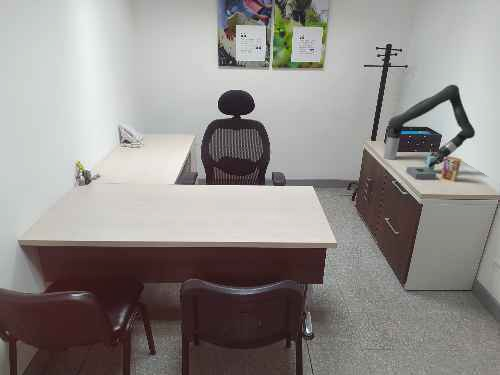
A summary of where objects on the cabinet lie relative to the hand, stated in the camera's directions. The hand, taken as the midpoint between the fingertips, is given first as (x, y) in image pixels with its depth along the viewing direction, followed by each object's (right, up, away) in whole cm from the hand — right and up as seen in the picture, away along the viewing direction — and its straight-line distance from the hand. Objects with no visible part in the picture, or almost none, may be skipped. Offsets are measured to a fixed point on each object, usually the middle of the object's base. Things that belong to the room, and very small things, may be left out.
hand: (427, 165), depth 261 cm
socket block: (-9, -8, -7) cm, 14 cm away
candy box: (+9, -11, -11) cm, 18 cm away
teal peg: (+2, -5, +2) cm, 5 cm away
